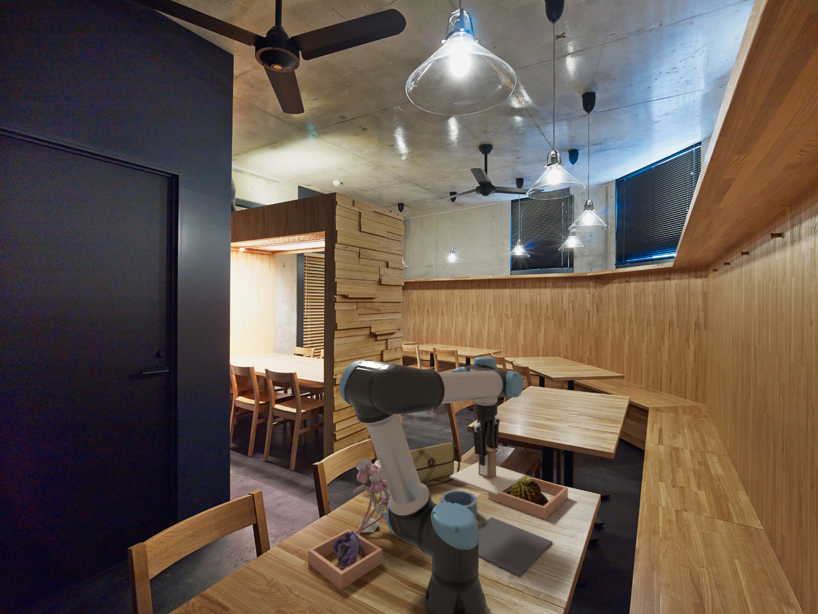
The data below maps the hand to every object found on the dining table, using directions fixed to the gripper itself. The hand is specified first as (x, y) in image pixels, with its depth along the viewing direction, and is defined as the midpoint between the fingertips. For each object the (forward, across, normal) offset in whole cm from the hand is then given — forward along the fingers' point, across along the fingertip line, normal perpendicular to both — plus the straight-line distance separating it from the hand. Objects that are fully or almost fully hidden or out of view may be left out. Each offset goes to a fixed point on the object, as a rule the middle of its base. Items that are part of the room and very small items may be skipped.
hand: (487, 472), depth 129 cm
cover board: (+2, 0, 0) cm, 2 cm away
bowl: (+20, +2, +14) cm, 24 cm away
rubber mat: (+20, -2, -8) cm, 21 cm away
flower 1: (+20, -42, +21) cm, 51 cm away
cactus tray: (+20, +31, +2) cm, 37 cm away
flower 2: (+20, -23, +25) cm, 39 cm away
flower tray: (+19, -44, +21) cm, 52 cm away
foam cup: (+20, -6, +44) cm, 49 cm away
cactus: (+21, +29, +2) cm, 36 cm away
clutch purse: (+20, +16, +39) cm, 47 cm away
